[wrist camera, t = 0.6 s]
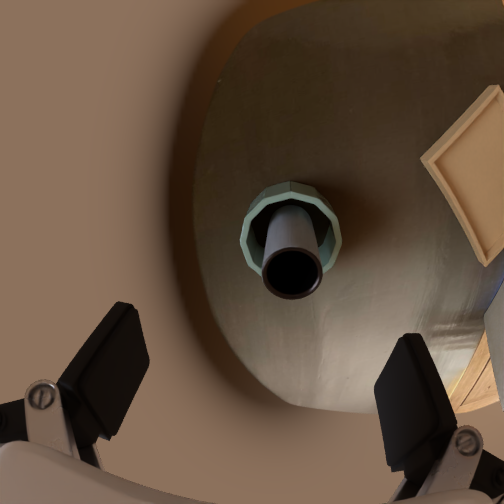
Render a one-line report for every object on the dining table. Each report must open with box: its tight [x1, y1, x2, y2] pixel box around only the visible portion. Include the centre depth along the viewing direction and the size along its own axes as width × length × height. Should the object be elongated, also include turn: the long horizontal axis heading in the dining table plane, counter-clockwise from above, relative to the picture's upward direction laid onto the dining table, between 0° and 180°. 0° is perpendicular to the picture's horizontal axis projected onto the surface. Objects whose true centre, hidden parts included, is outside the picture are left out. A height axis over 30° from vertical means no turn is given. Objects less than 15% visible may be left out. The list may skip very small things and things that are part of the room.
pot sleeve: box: [240, 181, 342, 276], centre depth 28 cm, size 9×9×4 cm
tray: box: [420, 85, 504, 267], centre depth 23 cm, size 17×15×2 cm
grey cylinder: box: [262, 205, 323, 300], centre depth 25 cm, size 4×4×10 cm
